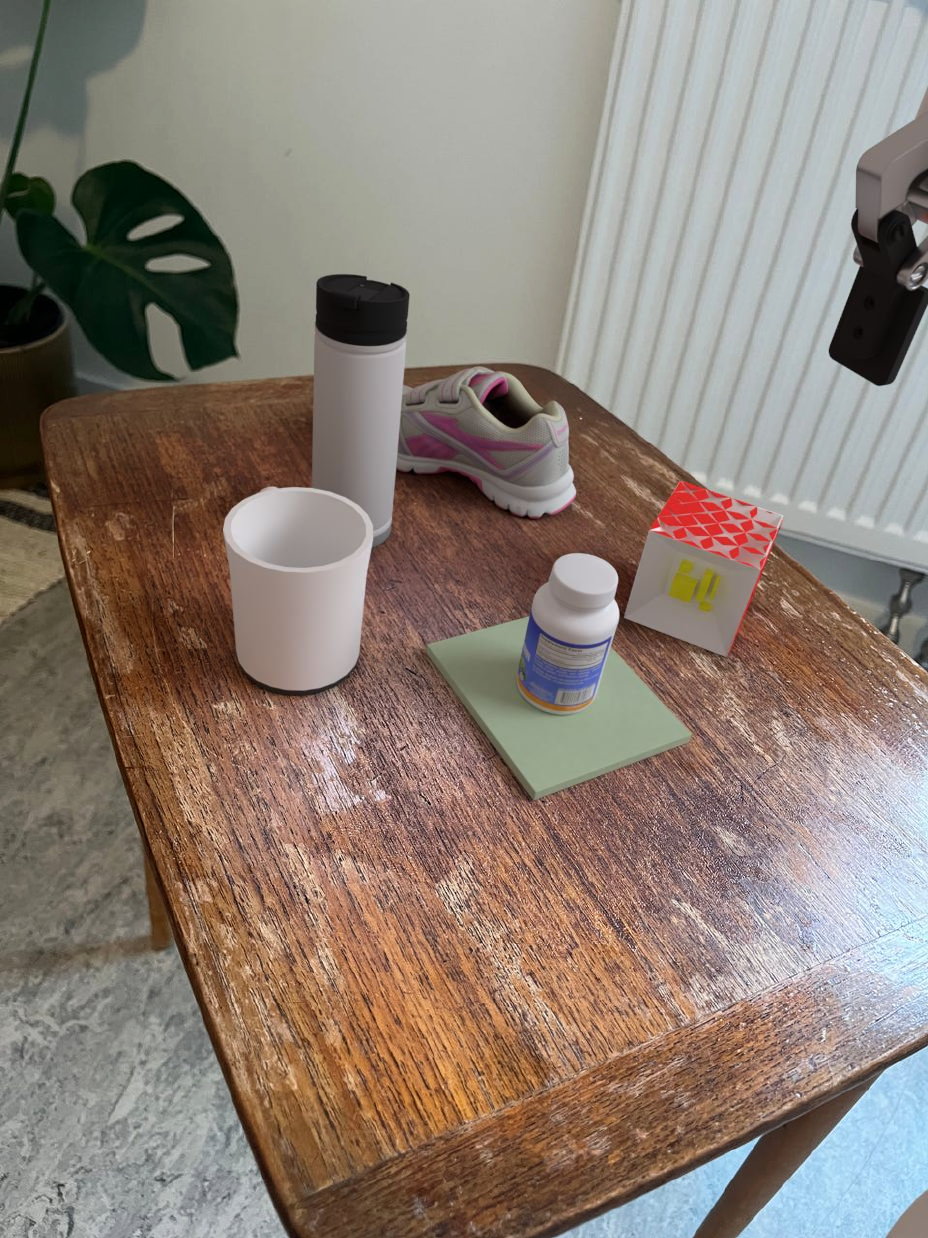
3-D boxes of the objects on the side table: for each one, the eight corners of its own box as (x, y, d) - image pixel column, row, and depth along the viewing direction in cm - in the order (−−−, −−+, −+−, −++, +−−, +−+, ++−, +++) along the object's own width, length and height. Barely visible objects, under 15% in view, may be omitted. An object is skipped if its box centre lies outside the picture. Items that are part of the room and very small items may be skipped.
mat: (689, 742, 62) (692, 734, 62) (533, 801, 57) (535, 792, 56) (569, 612, 71) (571, 604, 71) (425, 652, 66) (426, 644, 65)
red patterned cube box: (623, 617, 71) (648, 530, 66) (654, 564, 77) (680, 480, 72) (727, 658, 69) (762, 570, 64) (751, 600, 75) (785, 515, 70)
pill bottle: (530, 650, 66) (555, 534, 60) (605, 676, 65) (639, 561, 59) (503, 700, 62) (527, 581, 56) (583, 729, 61) (617, 611, 55)
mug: (386, 681, 63) (397, 555, 57) (254, 716, 59) (249, 585, 53) (326, 584, 70) (329, 461, 64) (205, 609, 67) (195, 482, 60)
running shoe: (375, 407, 92) (381, 307, 85) (592, 483, 85) (615, 381, 79) (323, 446, 85) (325, 341, 79) (554, 531, 79) (576, 425, 73)
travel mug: (295, 540, 74) (296, 284, 61) (331, 499, 79) (339, 253, 66) (370, 563, 73) (388, 307, 60) (402, 519, 78) (424, 274, 65)
